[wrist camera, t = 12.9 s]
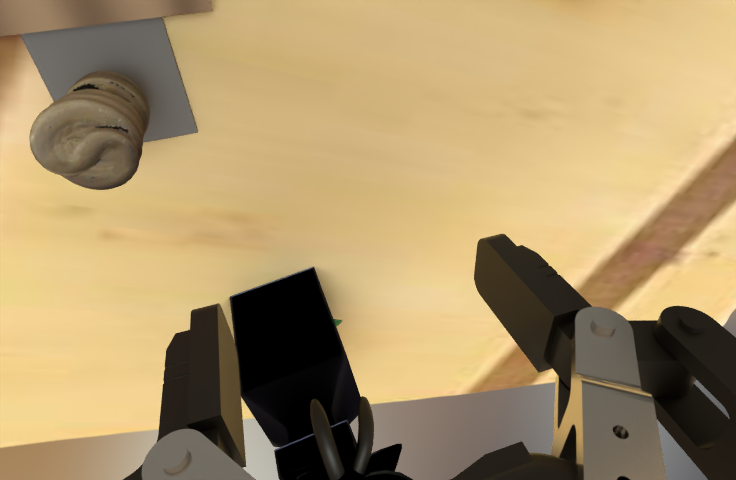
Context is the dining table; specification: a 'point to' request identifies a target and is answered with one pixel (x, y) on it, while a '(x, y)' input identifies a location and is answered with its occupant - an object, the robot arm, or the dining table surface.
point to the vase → (304, 384)
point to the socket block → (86, 12)
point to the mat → (118, 66)
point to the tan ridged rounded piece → (93, 131)
